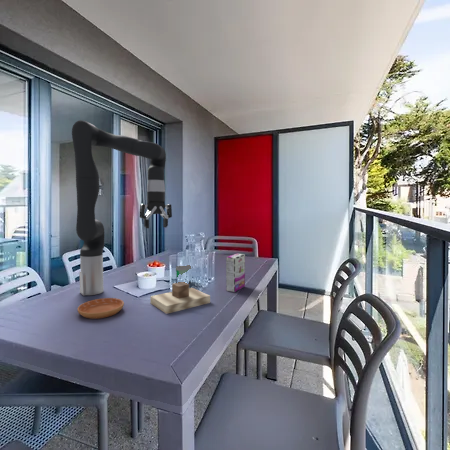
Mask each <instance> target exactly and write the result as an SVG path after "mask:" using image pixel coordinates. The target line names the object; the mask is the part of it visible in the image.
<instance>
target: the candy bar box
mask: <svg viewBox="0 0 450 450" xmlns="http://www.w3.org/2000/svg"><path fill="white" fill-rule="evenodd" d="M225 258H226V259H225V261H226V263H225V267H226V269H225V272H226V274H225V276H226V279H225V284H226V286H225V288H226V289H225V291H226V292H230V293H236V292H238V291H239V290H241V289H243V288H245V287H246V254H245V253H235V254H231V255H229V256H226V257H225Z"/></svg>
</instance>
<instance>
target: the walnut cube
mask: <svg viewBox="0 0 450 450" xmlns="http://www.w3.org/2000/svg"><path fill="white" fill-rule="evenodd" d="M189 288H190V283H189V284H187V283H185V282H178V283H177V282H174V283H172V285H171V292H172V296H174V297H176V298H178V299H179V298H184V297H188V296H189Z"/></svg>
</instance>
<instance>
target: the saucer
mask: <svg viewBox="0 0 450 450" xmlns="http://www.w3.org/2000/svg"><path fill="white" fill-rule="evenodd" d="M124 305H125V303H124V300H122V299H120V298H116V297H115V298H114V297H103V298H97V299H92V300H89V301H86V302H83V303H81V304H79V306H78V307H77V312H78V314H79V315H80V316H82V317H83V318H87V319H90V320H91V319H93V320H95V319H96V320H98V319H103V318H109V317H112V316H115V315H116V314H118V313H119V312H120V311H121V310H122V309H123V308H124Z"/></svg>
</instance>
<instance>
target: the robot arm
mask: <svg viewBox="0 0 450 450" xmlns="http://www.w3.org/2000/svg"><path fill="white" fill-rule="evenodd" d="M71 138H72V144H73V150H74V151H73V152H74V161H75V163H74V164H75V165H74V166H75V187H76V188H75V189H76V206H77V208H76V226H75V227H76V228H75V231H76V234H77V237H78V239H80V240H81V241H83V245H82V247H81V248H80V250H79V257H80V259H79V260H80V271H79V273H78V274H79V293H80V294H81V295H82V296H83V297H84V296H94V295H95V296H96V295H100V294H102V293H104V261H103V260H104V258H103V257H104V248H105V227H104V224H103V223H102V222H101V221H100V220H98V219H96V213H95V211H96V208H95V207H96V203H97V202H98V197H99V195H100V194H99V193H100V175H99V171H98V168H97V166H96V162H95V160H94V157H93V152H92V146H93V147H103V148H108V149H112V150H116V151H118V152H121V153H124V154H129V155H132V156H136V157H143V158H146V159H148V160H150V161H149V163H150V164H149V167H148V169H147V182H146V183H147V185H146V192H147V193H146V196H147V198H146V201H147V203H146V204H145V203H141V204H139V218H140V219H143V226H144V228H145V229H149V228H150V223H149V222H150V220H149V218H150V217H151V216H152V215H160V216H161V217H162V218H163V220H162V221H163V222H162V223H163V224H162V225H163V226H162V227H163V228H168V226H169V219H171V218H172V217H173V209H172V204H166V203H165V201H166V191H165V190H166V188H165V187H166V186H165V167H166V161H167V155H166V151H165V148H164V147H163V146H161V145H159V144H158V143H156V142H152V141H147V140H146V141H145V140H142V139H141V140H140V139H138V138H136V137H132V136H127V135H122V134H121V135H120V134H113V133H110V132H107V131H105V130H102V129H100V128H98V127H97V126H95V125H94V124H92V123H90V122H88V121H86V120H81V119H80V120H77V121H75V122H74V124H73V125H72V128H71ZM146 209H147V211H145V210H146ZM165 209H166V211H165ZM145 212H146V213H145Z"/></svg>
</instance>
